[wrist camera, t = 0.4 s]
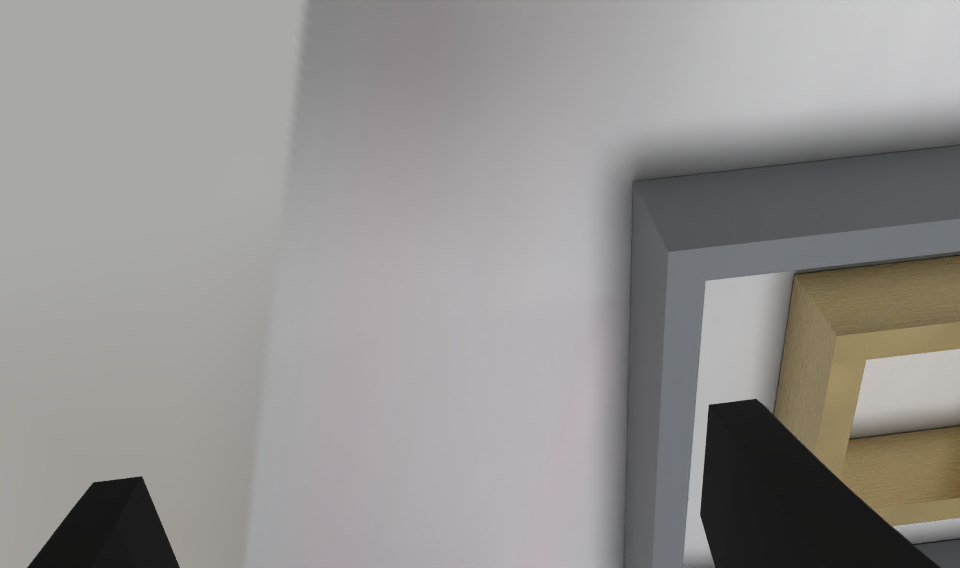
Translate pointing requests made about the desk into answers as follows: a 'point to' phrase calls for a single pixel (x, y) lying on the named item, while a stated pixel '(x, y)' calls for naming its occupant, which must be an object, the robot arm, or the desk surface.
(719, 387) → the desk surface
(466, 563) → the desk surface
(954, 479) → the frame
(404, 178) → the desk surface
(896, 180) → the walled box
